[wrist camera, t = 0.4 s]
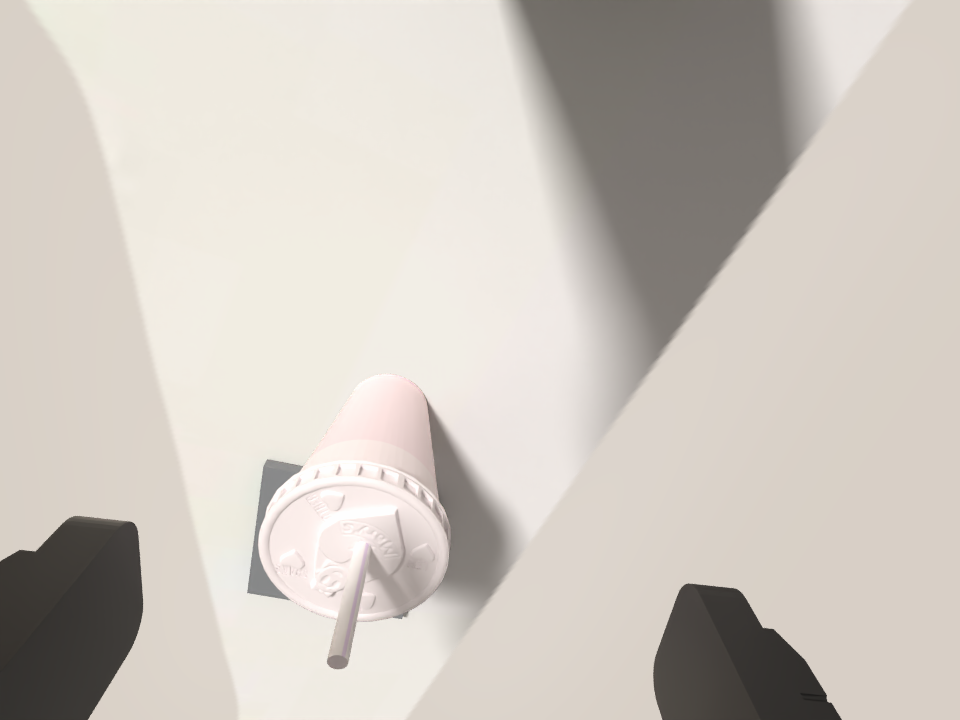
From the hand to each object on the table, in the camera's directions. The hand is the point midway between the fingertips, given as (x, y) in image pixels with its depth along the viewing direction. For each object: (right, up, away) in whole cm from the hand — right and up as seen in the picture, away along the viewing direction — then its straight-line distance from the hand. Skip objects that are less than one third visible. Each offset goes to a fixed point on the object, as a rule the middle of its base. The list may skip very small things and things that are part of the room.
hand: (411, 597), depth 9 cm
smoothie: (-3, +1, +20) cm, 20 cm away
